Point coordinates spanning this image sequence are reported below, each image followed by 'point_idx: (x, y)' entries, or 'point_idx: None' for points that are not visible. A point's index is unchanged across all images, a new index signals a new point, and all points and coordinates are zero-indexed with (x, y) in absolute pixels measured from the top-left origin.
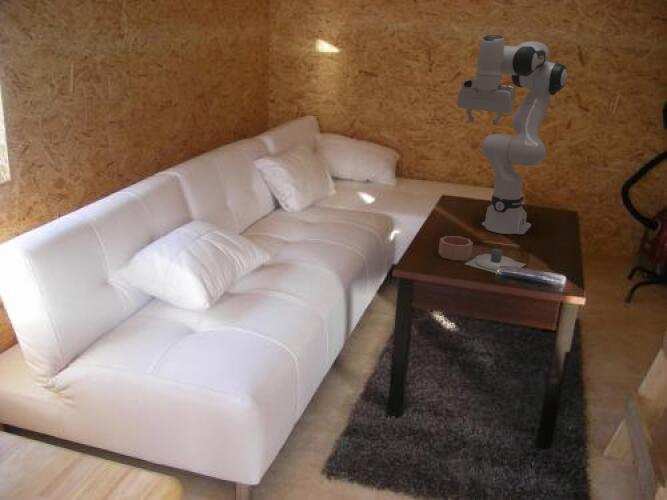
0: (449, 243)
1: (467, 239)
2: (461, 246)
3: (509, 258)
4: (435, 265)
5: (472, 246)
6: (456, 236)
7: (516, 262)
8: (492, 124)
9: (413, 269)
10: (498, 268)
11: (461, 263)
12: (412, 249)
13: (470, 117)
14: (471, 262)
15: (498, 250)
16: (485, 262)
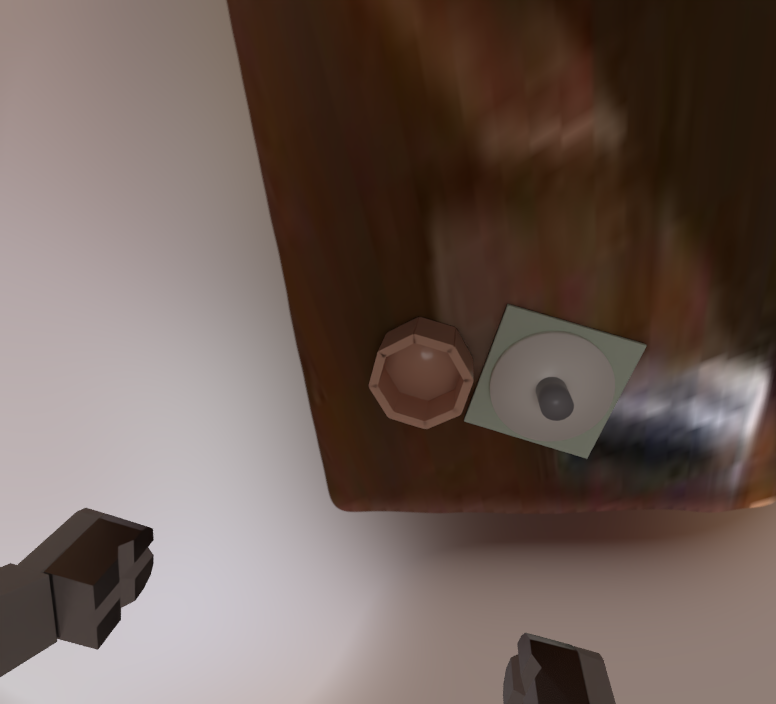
0: (407, 416)
1: (449, 353)
2: (445, 419)
3: (592, 350)
4: (395, 442)
5: (473, 376)
6: (409, 339)
7: (614, 344)
8: (504, 682)
9: (357, 486)
10: (563, 438)
11: None
12: (300, 353)
13: (75, 638)
14: (481, 402)
15: (561, 408)
16: (522, 415)
